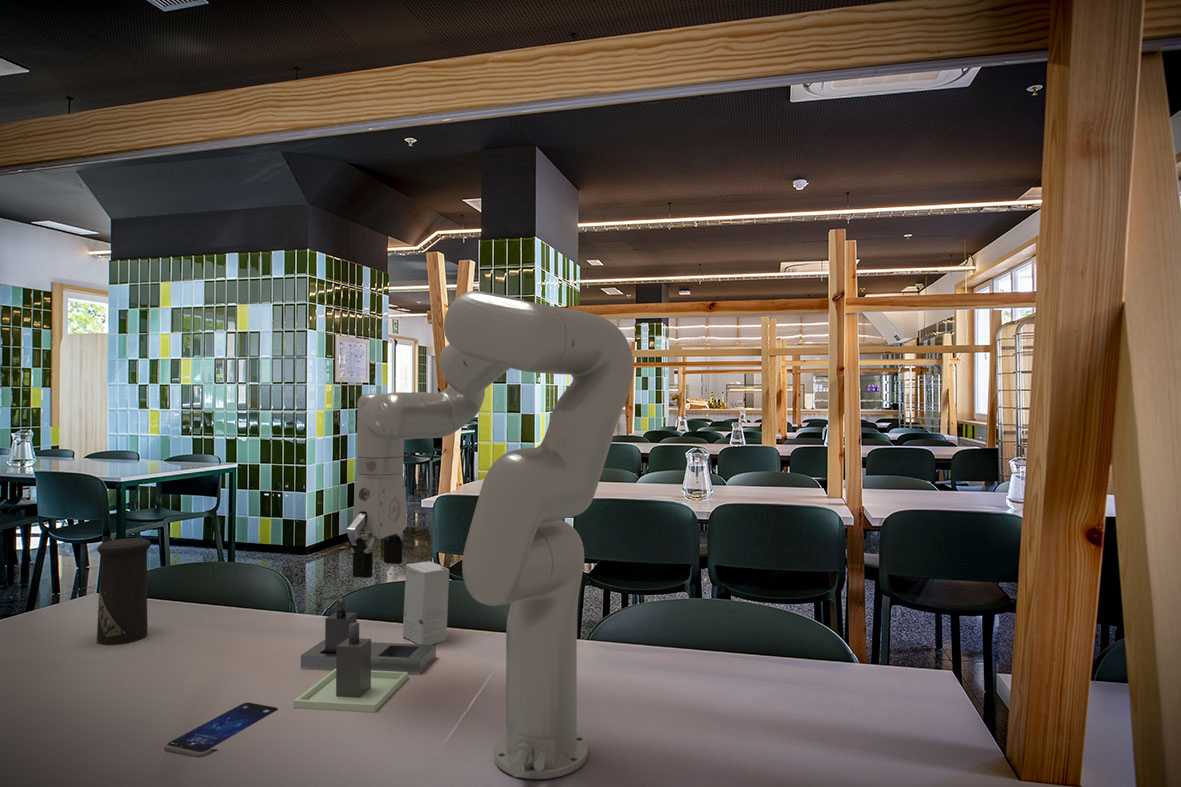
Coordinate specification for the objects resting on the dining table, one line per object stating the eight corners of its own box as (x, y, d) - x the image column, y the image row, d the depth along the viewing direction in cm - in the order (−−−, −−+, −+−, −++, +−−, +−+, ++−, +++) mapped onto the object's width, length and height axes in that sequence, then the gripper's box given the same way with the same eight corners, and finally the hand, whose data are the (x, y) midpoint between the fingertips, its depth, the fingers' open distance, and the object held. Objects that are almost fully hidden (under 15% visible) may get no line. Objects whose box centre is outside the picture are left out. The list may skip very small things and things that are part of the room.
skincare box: (402, 637, 140) (402, 564, 140) (428, 631, 144) (429, 559, 144) (422, 648, 134) (423, 571, 134) (449, 641, 138) (450, 566, 138)
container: (101, 634, 141) (102, 537, 141) (152, 629, 145) (153, 533, 145) (90, 648, 133) (92, 544, 134) (145, 641, 137) (147, 541, 137)
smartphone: (284, 707, 106) (202, 754, 92) (283, 714, 106) (202, 761, 92) (245, 700, 108) (160, 745, 94) (245, 706, 108) (160, 752, 94)
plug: (359, 697, 109) (360, 628, 110) (336, 696, 110) (336, 627, 110) (370, 687, 113) (371, 620, 114) (347, 686, 114) (348, 619, 114)
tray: (375, 715, 104) (375, 705, 104) (293, 710, 106) (293, 700, 106) (408, 681, 117) (408, 672, 117) (334, 677, 119) (335, 668, 119)
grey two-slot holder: (420, 677, 119) (420, 608, 119) (300, 671, 122) (301, 604, 122) (435, 660, 127) (436, 596, 127) (323, 655, 130) (323, 592, 130)
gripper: (373, 473, 106) (371, 584, 105) (424, 463, 122) (422, 559, 122) (329, 471, 107) (327, 581, 107) (385, 462, 124) (384, 557, 124)
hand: (378, 569), depth 115 cm, fingers open, 9 cm apart
